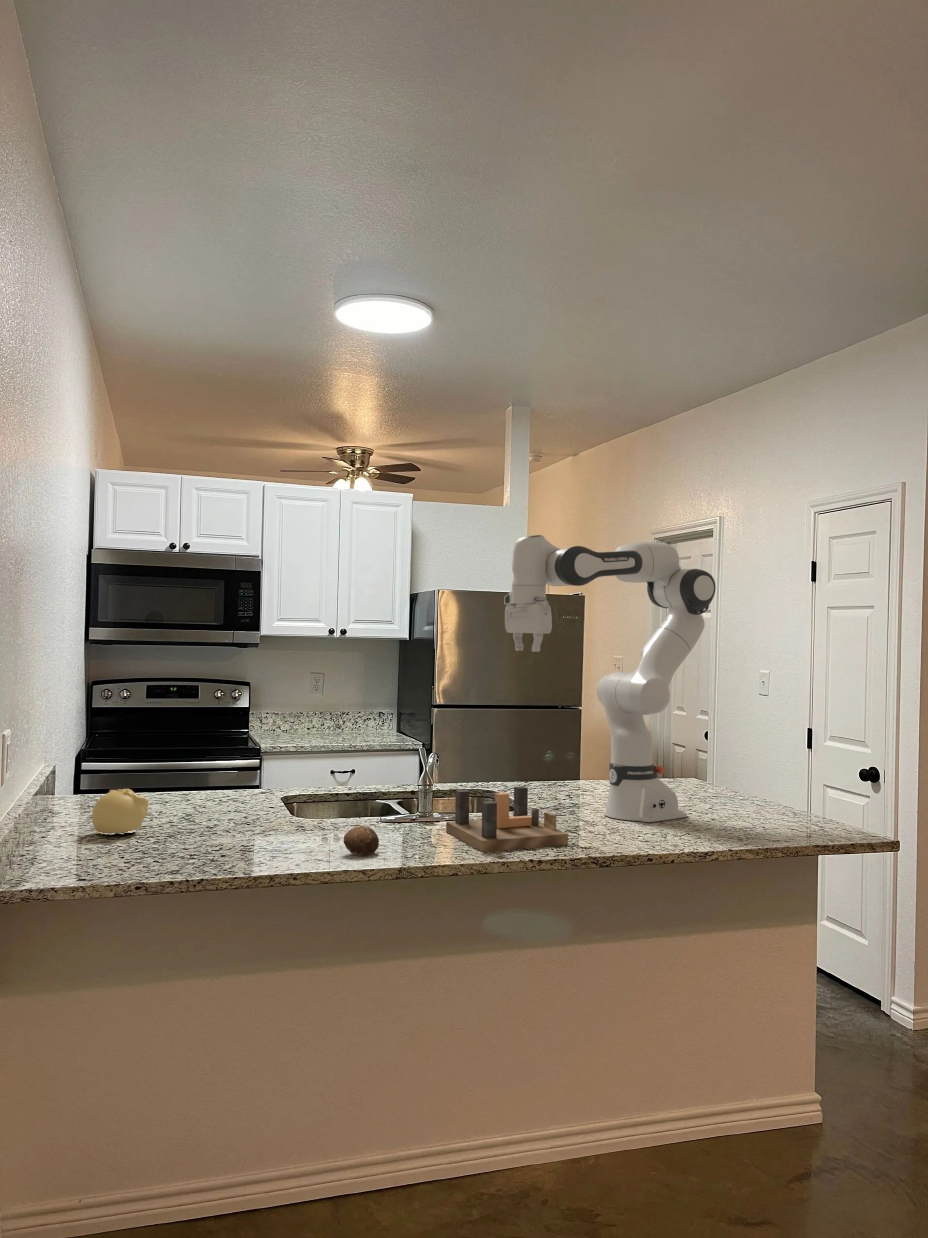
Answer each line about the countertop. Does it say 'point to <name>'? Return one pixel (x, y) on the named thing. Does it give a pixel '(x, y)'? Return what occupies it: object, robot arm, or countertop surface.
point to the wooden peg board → (495, 839)
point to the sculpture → (119, 811)
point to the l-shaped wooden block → (503, 813)
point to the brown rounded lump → (361, 841)
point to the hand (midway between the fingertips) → (527, 651)
